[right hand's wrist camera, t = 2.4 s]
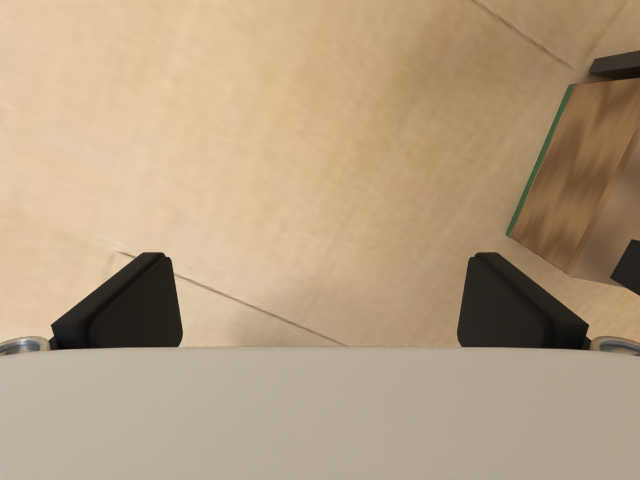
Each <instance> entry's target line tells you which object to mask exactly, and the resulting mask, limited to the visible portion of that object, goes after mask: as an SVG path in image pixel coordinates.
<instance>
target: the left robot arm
mask: <svg viewBox="0 0 640 480" xmlns="http://www.w3.org/2000/svg"><path fill="white" fill-rule="evenodd" d="M610 279H612V280H614V281H616V282H617V283H619V284H621V285H622V286H624V287H626V288H627V289H629V290H631V291H633V292H634V293H636V294H638V295H639V296H640V241H639V240H634V239H631V241H630V243H629V244H628V246H627V248H626V250H625V252H624V253H623V255H622V257H621V259H620V260H619V262H618V264H617V266H616V267H615V269H614V271H613V273H612V274H611V276H610Z"/></svg>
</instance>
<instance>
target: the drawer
mask: <svg viewBox="0 0 640 480" xmlns="http://www.w3.org/2000/svg"><path fill="white" fill-rule="evenodd" d="M589 74H592V75H596V76H600V77H604V78H608V79H612V80H626V79H635V78H640V50H639V51H634V52H629V53H624V54H618V55H613V56H608V57H603V58H597V59H595V60H594V62H593V64H592V66H591V69H590V71H589Z"/></svg>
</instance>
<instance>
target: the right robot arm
mask: <svg viewBox="0 0 640 480" xmlns="http://www.w3.org/2000/svg"><path fill="white" fill-rule="evenodd" d="M51 327H52V330H53V334H54V337H52V338H51V339H50V340H49V341H48V340H47V339H45V338H43V337H38V336H28V337H20V338H16V339H12V340H8V341H5V342H2V343H0V480H640V343H638V342H635V341H632V340H628V339H624V338H620V337H612V336H602V337H597V338H595V339H593V340H592V341H591V340H590V339H589V338H588V337H586V334H587V330H588V327H589V325H588V324H587V323H586V322H585V321H583V320H582V319H581V318H580V317H578V316H577V315H576V314H575V313H573V312H572V311H571V310H569V309H568V308H567V307H566V306H564V305H563V304H562V303H561V302H559V301H558V300H557V299H555V298H554V297H553V296H552V295H550V294H549V293H548V292H547V291H545V290H544V289H543V288H542V287H540V286H539V285H538V284H536V283H535V282H534V281H533V280H531V279H530V278H529V277H528V276H526V275H525V274H524V273H523V272H521V271H520V270H519V269H517V268H516V267H515V266H514V265H512V264H511V263H510V262H509V261H507V260H506V259H505V258H503V257H502V256H501V255H500V254H498V253H496V252H479V253H476V254H475V256H474V257H471V258H470V259H469V261H468V267H467V273H466V279H465V286H464V292H463V298H462V304H461V311H460V317H459V323H458V329H457V336H458V340H459V343H460V345H461V346H462V347H377V346H248V347H178V346H179V345H180V343H181V340H182V336H183V329H182V323H181V317H180V311H179V304H178V298H177V292H176V286H175V279H174V273H173V267H172V261H171V259H170V258H169V257H166V256H165V254H164V253H161V252H144V253H142V254H140V255H139V256H138V257H137V258H135V259H134V260H133V261H131V262H130V263H129V264H128V265H126V266H125V267H124V268H123V269H121V270H120V271H119V272H117V273H116V274H115V275H114V276H112V277H111V278H110V279H109V280H107V281H106V282H105V283H104V284H102V285H101V286H100V287H98V288H97V289H96V290H95V291H93V292H92V293H91V294H90V295H88V296H87V297H86V298H85V299H83V300H82V301H81V302H79V303H78V304H77V305H76V306H74V307H73V308H72V309H71V310H69V311H68V312H67V313H65V314H64V315H63V316H62V317H60V318H59V319H58V320H57V321H55V322H54V323H53V324H52V325H51Z"/></svg>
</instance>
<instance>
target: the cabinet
mask: <svg viewBox="0 0 640 480" xmlns="http://www.w3.org/2000/svg"><path fill="white" fill-rule="evenodd" d="M506 235H507V236H509V237H511V238H513V239H514V240H516V241H517V242H519V243H520V244H522V245H523V246H525V247H526V248H528V249H529V250H531V251H532V252H534V253H535V254H537V255H539V256H540V257H542V258H543V259H545V260H546V261H548V262H549V263H551V264H552V265H554V266H555V267H557V268H558V269H560V270H561V271H563V272H564V273H566V274H567V275H569V276H570V277H575V278H580V279H585V280H590V281H595V282H600V283H605V284H610V285H615V286H620V287H624V286H622V285H621V284H619V283H617V282H616V281H614V280H612V279H610V276H611V274H612V273H613V271H614V269H615V267H616V266H617V264H618V262H619V260H620V259H621V257H622V255H623V253H624V252H625V250H626V248H627V246H628V244H629V243H630V241H631V239H634V240H639V241H640V78H635V79H626V80H616V81H607V82H597V83H587V84H578V85H575V84H574V85H569V86H568V89H567V91H566V94H565V96H564V98H563V101H562V103H561V105H560V108H559V110H558V112H557V115H556V117H555V119H554V122H553V124H552V127H551V129H550V131H549V134H548V136H547V138H546V141H545V143H544V145H543V148H542V150H541V153H540V155H539V157H538V160H537V162H536V164H535V167H534V169H533V171H532V174H531V176H530V179H529V181H528V183H527V186H526V188H525V190H524V193H523V195H522V197H521V200H520V202H519V204H518V207H517V209H516V212H515V214H514V216H513V219H512V221H511V223H510V226H509V228H508V230H507V233H506ZM624 288H626V287H624Z"/></svg>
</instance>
